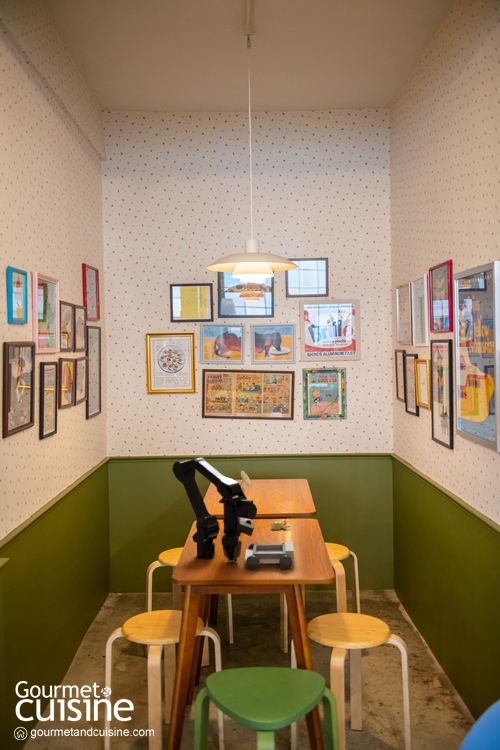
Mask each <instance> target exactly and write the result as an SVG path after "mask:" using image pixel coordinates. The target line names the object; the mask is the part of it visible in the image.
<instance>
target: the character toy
mask: <svg viewBox="0 0 500 750" xmlns="http://www.w3.org/2000/svg"><path fill="white" fill-rule="evenodd" d="M270 523H271V524H270V526H271V527H270V528H271V529H272V530H276V531H277V530H282V529H287V528H291V526H290V524H287V521H286V520H283V521H281V522H280V521H271V522H270Z"/></svg>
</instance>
